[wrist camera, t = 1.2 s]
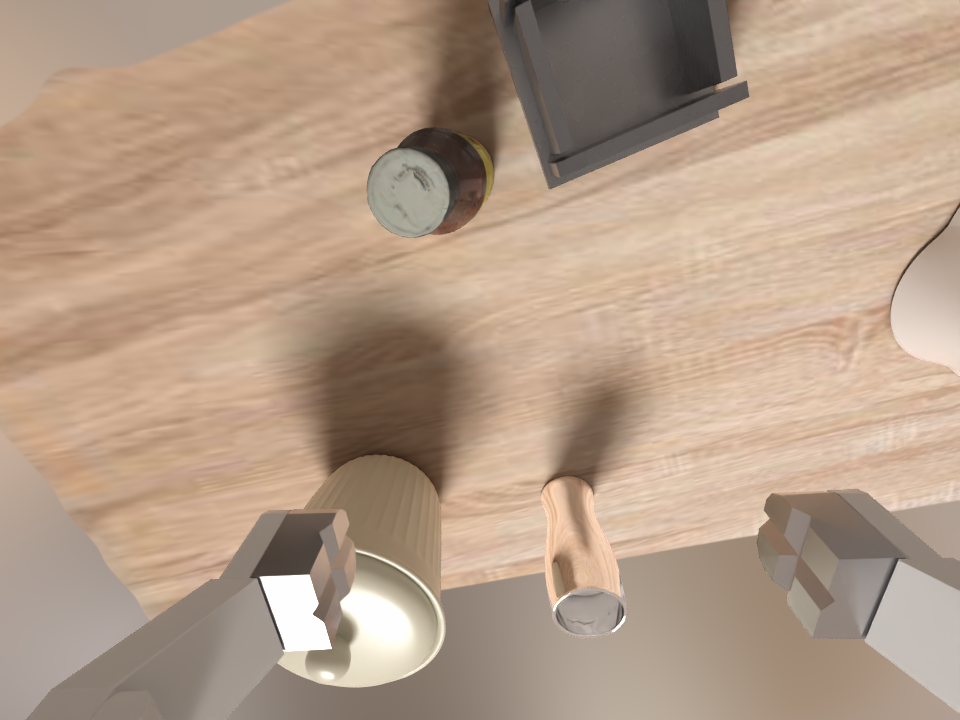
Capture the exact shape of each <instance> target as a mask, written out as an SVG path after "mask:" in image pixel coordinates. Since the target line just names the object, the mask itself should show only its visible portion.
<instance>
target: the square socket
mask: <svg viewBox="0 0 960 720" xmlns="http://www.w3.org/2000/svg"><path fill="white" fill-rule="evenodd" d="M488 5H489V8H490V11H491V14H492V17H493V21H494V24H495V27H496V30H497V33H498V36H499V39H500V42H501V45H502V48H503V51H504V54H505V57H506V60H507V63H508V66H509V69H510V72H511V75H512V78H513V81H514V85H515V88H516V91H517V94H518V97H519V100H520V103H521V106H522V109H523V112H524V115H525V118H526V121H527V124H528V127H529V130H530V133H531V136H532V139H533V142H534V145H535V149H536V152H537V155H538V158H539V161H540V164H541V167H542V170H543V173H544V176H545V179H546V182H547V185H548V188H549V189H552V188H554V187H557V186H559V185H561V184H564V183H566V182H568V181H571V180H573V179H575V178H578V177H580V176H582V175H585V174H587V173H589V172H592V171H594V170H596V169H599V168H601V167H604V166H606V165H608V164H611V163H613V162H615V161H618V160H620V159H622V158H625V157H627V156H629V155H632V154H634V153H636V152H639V151H641V150H644V149H646V148H648V147H651V146H653V145H655V144H658V143H660V142H662V141H665V140H667V139H669V138H672V137H674V136H676V135H679V134H681V133H683V132H686V131H688V130H691V129H693V128H695V127H698V126H700V125H702V124H705V123H707V122H709V121H712V120H714V119H716V118H719V114H718V110H720V109H722V108H725V107H727V106H729V105H732V104H734V103H736V102H739V101H741V100H743V99H746V98H748V97H749V92H748V86H747V81H744V82H741V83H738V84H734V85H731V86H728V87H725V88H722V89H719V90H716V91H714V85H716V84H719V83H722V82H724V81H727V80H729V79H731V78H734V77H736V76H737V70H736V63H735V57H734V50H733V44H732V38H731V31H730V25H729V18H728V12H727V6H726V0H489V1H488Z"/></svg>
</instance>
